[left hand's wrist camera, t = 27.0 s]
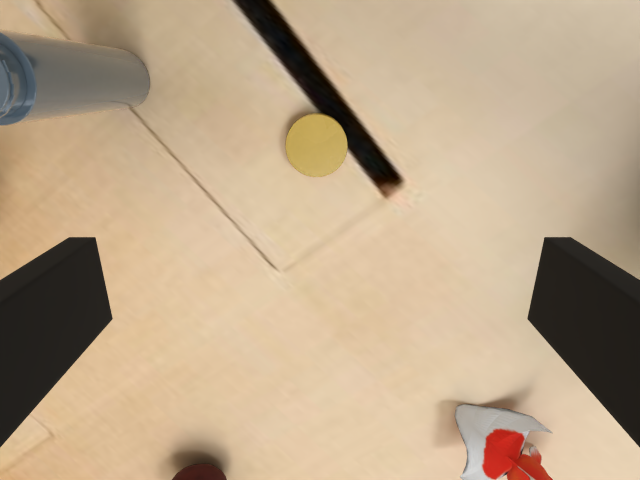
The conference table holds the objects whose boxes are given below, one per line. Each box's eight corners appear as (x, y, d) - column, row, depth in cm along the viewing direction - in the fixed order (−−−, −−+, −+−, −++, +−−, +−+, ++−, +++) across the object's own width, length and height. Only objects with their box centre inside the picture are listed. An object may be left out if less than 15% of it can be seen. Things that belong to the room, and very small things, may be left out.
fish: (485, 530, 50) (531, 581, 41) (416, 415, 52) (444, 437, 43) (553, 479, 52) (613, 516, 42) (483, 369, 54) (525, 380, 44)
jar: (108, 114, 37) (-50, 138, 21) (84, 57, 36) (-107, 37, 20) (158, 100, 37) (35, 114, 21) (136, 41, 35) (-15, 8, 19)
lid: (352, 120, 38) (354, 121, 36) (338, 178, 40) (339, 182, 38) (293, 106, 37) (291, 107, 36) (282, 166, 39) (280, 170, 38)
